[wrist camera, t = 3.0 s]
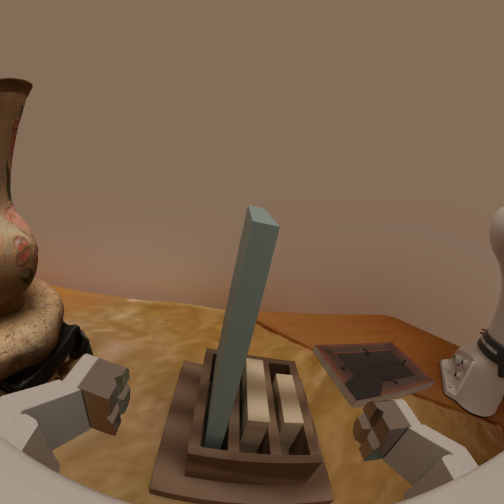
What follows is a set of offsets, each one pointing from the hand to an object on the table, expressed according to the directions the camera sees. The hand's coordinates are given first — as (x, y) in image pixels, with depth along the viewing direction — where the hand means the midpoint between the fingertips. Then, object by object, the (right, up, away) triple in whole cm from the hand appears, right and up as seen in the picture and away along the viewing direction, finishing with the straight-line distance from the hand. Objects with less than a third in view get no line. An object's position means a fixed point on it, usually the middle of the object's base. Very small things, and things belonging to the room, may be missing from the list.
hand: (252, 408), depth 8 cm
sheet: (-5, -15, +19) cm, 25 cm away
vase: (-31, -11, +17) cm, 37 cm away
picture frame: (+24, -19, +38) cm, 49 cm away
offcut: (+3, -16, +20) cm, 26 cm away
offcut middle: (-1, -16, +20) cm, 25 cm away
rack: (-1, -17, +20) cm, 26 cm away
